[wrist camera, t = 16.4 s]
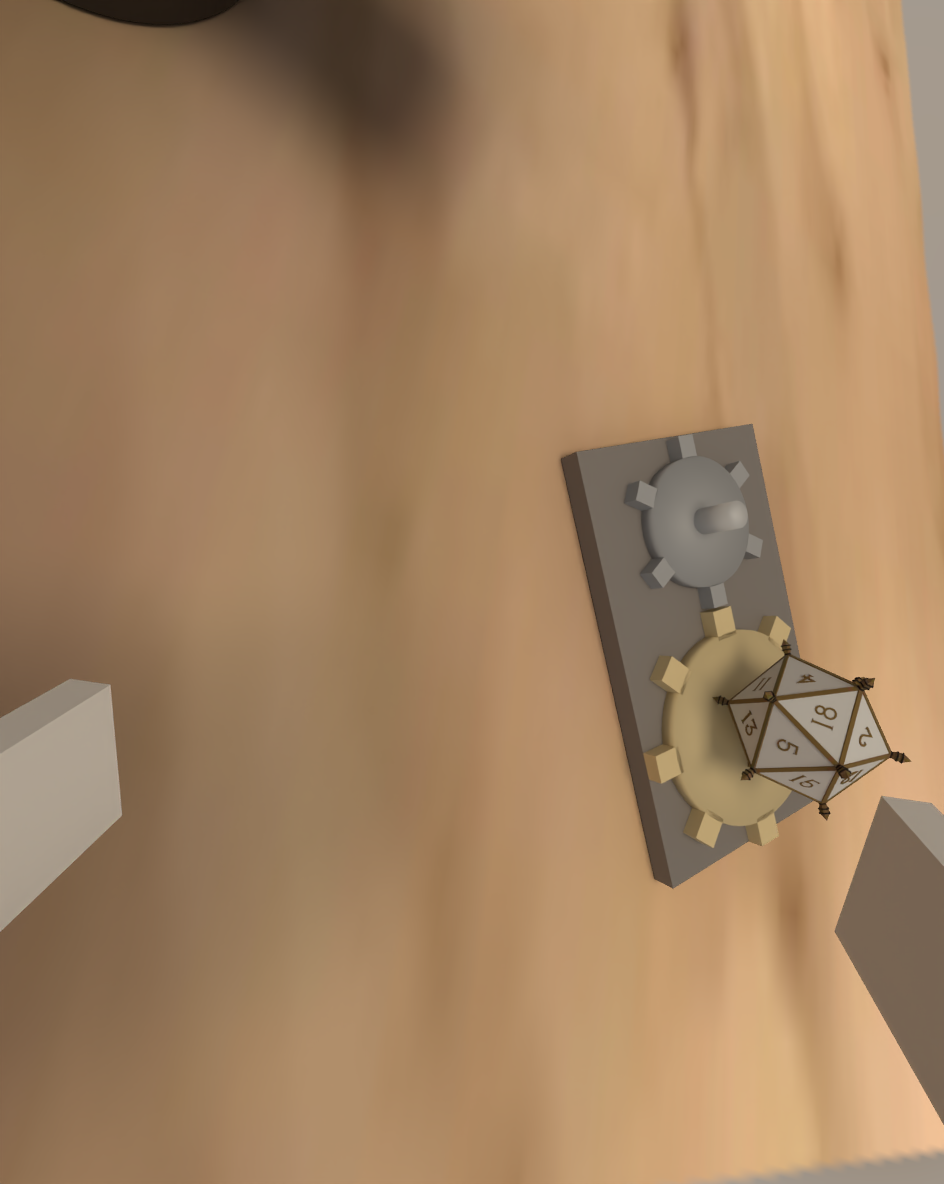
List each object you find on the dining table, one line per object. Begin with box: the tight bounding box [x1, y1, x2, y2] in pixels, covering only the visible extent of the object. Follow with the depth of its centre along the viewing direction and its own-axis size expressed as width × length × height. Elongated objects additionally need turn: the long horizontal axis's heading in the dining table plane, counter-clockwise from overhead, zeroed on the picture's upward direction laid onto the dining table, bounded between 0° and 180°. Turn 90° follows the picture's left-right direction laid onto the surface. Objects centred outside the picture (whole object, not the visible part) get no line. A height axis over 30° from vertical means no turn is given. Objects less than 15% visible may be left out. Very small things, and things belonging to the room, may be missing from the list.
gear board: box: [561, 424, 814, 888], centre depth 37 cm, size 26×15×5 cm, turn 15°
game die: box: [712, 639, 911, 820], centre depth 34 cm, size 9×8×10 cm
